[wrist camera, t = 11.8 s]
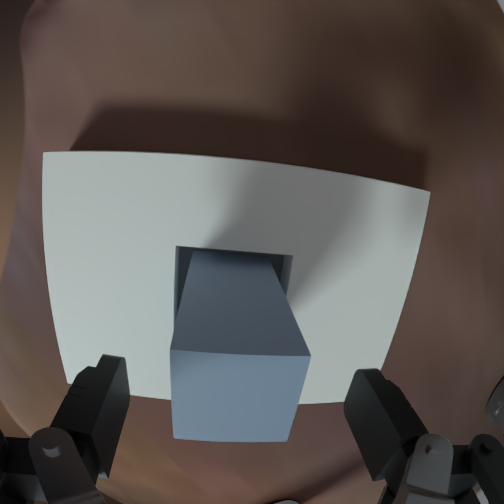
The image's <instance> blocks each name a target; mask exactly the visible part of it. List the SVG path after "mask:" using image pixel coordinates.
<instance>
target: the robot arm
mask: <svg viewBox="0 0 504 504" xmlns="http://www.w3.org/2000/svg"><path fill="white" fill-rule="evenodd" d="M129 401H130V389H129V382H128V374H127V366H126V360H125V358H124V357H120V356H113V355H107V354H103V355H102V356H101V358H100V360H99V362H98V364H97V366H96V367H92V366H87V367H86V368H84V369H83V370H82V371H81V372H79V373H78V374H77V376H76V377H75V379H74V381H73V383H72V386H71V387H70V388H69V390H68V392H67V395H66V396H65V398H64V400H63V402H62V404H61V405H60V407H59V409H58V411H57V413H56V415H55V417H54V419H53V421H52V423H51V425H50V427H46V428H42V429H40V430H38V431H36V432H35V433H34V434H33V435H32V436H31V437H30V438H16V437H5V436H4V435H3V433H2V432H1V430H0V504H34V501H35V500H36V501H47V502H48V504H106V503H105V501H104V499H103V498H102V496H101V494H100V493H99V491H98V490H97V488H96V486H95V485H96V481H97V478H98V477H100V478H104V479H108V478H109V474H110V470H111V467H112V463H113V459H114V455H115V452H116V448H117V445H118V441H119V437H120V434H121V431H122V427H123V424H124V420H125V417H126V414H127V410H128V407H129ZM486 410H487V413H488V415H489V416H490V417H491V418H492V420H493V421H494V422H495V423H496V424H497V426H498V427H499V428H500V429H501V431H502V432H503V433H504V378H503V380H502V381H501V382H500V383H499V385H498V386H497V388H496V389H495V391H494V392H493V394H492V396H491V398H490V400H489V402H488V405H487V409H486ZM344 414H345V417H346V419H347V421H348V424H349V426H350V428H351V431H352V433H353V435H354V438H355V440H356V442H357V445H358V447H359V449H360V452H361V454H362V456H363V459H364V461H365V464H366V466H367V468H368V471H369V473H370V475H371V478H372V480H373V481H377V480H382V479H385V480H386V482H387V484H386V485H385V487H384V489H383V491H382V494H381V496H380V499H379V501H378V503H377V504H480V502H479V500H478V498H477V496H476V494H475V492H474V490H473V488H474V487H475V486H476V485H477V484H478V483H479V485H480V487H481V488H482V490H483V492H484V494H485V496H486V498H487V499H488V502H489V504H504V448H503V447H502V445H501V444H500V442H499V441H498V440H497V439H496V438H494V437H493V436H491V435H488V434H479V435H477V436H475V437H474V439H473V440H472V441H471V443H470V444H469V445H451V443H450V442H449V441H448V440H447V439H446V438H445V437H443V436H441V435H439V434H434V433H429V432H428V431H427V429H426V427H425V426H424V424H423V423H422V421H421V420H420V418H419V417H418V415H417V414H416V412H415V411H414V409H413V408H412V407H411V405H410V403H409V402H408V400H407V399H406V397H405V396H404V394H403V393H402V391H401V390H400V388H399V387H397V386H396V385H395V384H394V383H392V382H391V381H390V380H386V379H385V378H384V376H383V375H382V373H381V372H380V370H379V369H378V368H368V369H358V370H356V372H355V373H354V376H353V379H352V382H351V384H350V387H349V390H348V392H347V395H346V398H345V401H344Z"/></svg>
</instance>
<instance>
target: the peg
mask: <svg viewBox="0 0 504 504" xmlns="http://www.w3.org/2000/svg"><path fill="white" fill-rule="evenodd" d="M310 359H311V354H310V352H309V349H308V347H307V345H306V342H305V340H304V338H303V335H302V333H301V331H300V328H299V326H298V324H297V321H296V319H295V317H294V315H293V312H292V310H291V308H290V305H289V303H288V301H287V298H286V296H285V294H284V292H283V289H282V287H281V285H280V282H279V280H278V278H277V276H276V273H275V271H274V269H273V266H272V264H271V262H270V260H269V257H268V256H258V255H246V254H233V253H221V252H209V251H197V250H193V253H192V257H191V261H190V265H189V269H188V273H187V277H186V281H185V285H184V289H183V293H182V298H181V302H180V306H179V310H178V315H177V319H176V323H175V328H174V332H173V337H172V341H171V346H170V379H171V403H172V420H173V435H174V438H177V439H188V440H202V441H222V442H279V441H287V439H288V435H289V432H290V429H291V426H292V423H293V419H294V416H295V413H296V409H297V406H298V403H299V399H300V396H301V392H302V389H303V385H304V382H305V378H306V374H307V371H308V367H309V363H310Z"/></svg>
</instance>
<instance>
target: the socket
mask: <svg viewBox="0 0 504 504" xmlns="http://www.w3.org/2000/svg"><path fill="white" fill-rule="evenodd" d="M429 198H430V192H429V191H425V190H421V189H417V188H414V187H410V186H406V185H402V184H397V183H392V182H388V181H383V180H378V179H373V178H367V177H362V176H357V175H351V174H346V173H340V172H334V171H328V170H322V169H316V168H309V167H302V166H295V165H288V164H281V163H273V162H265V161H257V160H248V159H239V158H229V157H218V156H206V155H194V154H179V153H162V152H140V151H55V152H44V153H43V177H42V209H43V234H44V249H45V261H46V270H47V279H48V287H49V294H50V301H51V308H52V314H53V319H54V325H55V330H56V335H57V340H58V345H59V349H60V354H61V358H62V362H63V366H64V370H65V374H66V378H67V382H68V383H70V384H72V383H73V381H74V379H75V377H76V376H77V374H78V373H79V372H81V371H82V370H83V369H84V368H86V367H87V366H92V367H96V366H97V364H98V362H99V360H100V358H101V356H102V355H103V354H107V355H113V356H120V357H124V358H125V360H126V366H127V374H128V382H129V389H130V395H136V396H143V397H151V398H160V399H169V400H171V379H170V346H171V341H172V337H173V332H174V328H175V323H176V319H177V315H178V310H179V306H180V302H181V298H182V293H183V289H184V285H185V281H186V277H187V273H188V269H189V265H190V261H191V257H192V253H193V250H197V251H209V252H221V253H233V254H246V255H258V256H268V257H269V260H270V262H271V264H272V266H273V269H274V271H275V273H276V276H277V278H278V280H279V282H280V285H281V287H282V289H283V292H284V294H285V296H286V298H287V301H288V303H289V305H290V308H291V310H292V312H293V315H294V317H295V319H296V321H297V324H298V326H299V328H300V331H301V333H302V335H303V338H304V340H305V342H306V345H307V347H308V349H309V352H310V354H311V359H310V363H309V367H308V371H307V374H306V378H305V382H304V385H303V389H302V392H301V396H300V399H299V403H298V404H311V403H329V402H342V401H345V398H346V395H347V392H348V390H349V387H350V384H351V382H352V379H353V376H354V373H355V372H356V370H358V369H368V368H378V369H379V370H381V368H382V365H383V362H384V360H385V357H386V355H387V352H388V349H389V346H390V344H391V341H392V338H393V335H394V332H395V329H396V326H397V323H398V320H399V317H400V314H401V311H402V308H403V305H404V301H405V298H406V295H407V291H408V288H409V284H410V281H411V277H412V274H413V270H414V266H415V262H416V258H417V254H418V250H419V246H420V242H421V237H422V233H423V228H424V223H425V219H426V214H427V208H428V203H429Z"/></svg>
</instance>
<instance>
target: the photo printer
mask: <svg viewBox="0 0 504 504" xmlns="http://www.w3.org/2000/svg"><path fill="white" fill-rule="evenodd" d="M275 504H298V503H297V502H295V501H292V500H286V501H282V502H278V503H275Z"/></svg>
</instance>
